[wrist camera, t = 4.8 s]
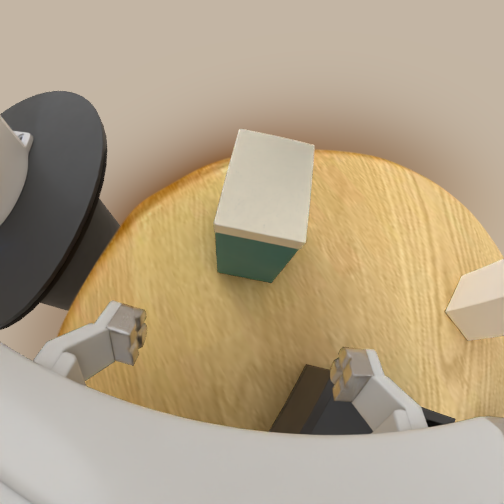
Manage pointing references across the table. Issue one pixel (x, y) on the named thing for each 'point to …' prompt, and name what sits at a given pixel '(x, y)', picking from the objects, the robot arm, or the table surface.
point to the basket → (327, 409)
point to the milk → (479, 303)
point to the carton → (263, 205)
